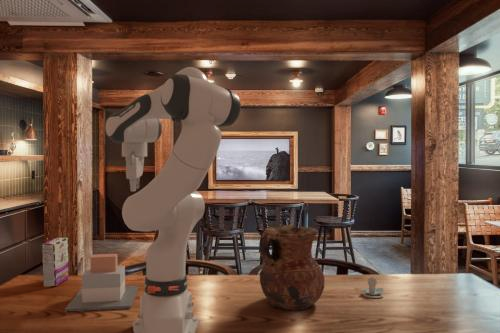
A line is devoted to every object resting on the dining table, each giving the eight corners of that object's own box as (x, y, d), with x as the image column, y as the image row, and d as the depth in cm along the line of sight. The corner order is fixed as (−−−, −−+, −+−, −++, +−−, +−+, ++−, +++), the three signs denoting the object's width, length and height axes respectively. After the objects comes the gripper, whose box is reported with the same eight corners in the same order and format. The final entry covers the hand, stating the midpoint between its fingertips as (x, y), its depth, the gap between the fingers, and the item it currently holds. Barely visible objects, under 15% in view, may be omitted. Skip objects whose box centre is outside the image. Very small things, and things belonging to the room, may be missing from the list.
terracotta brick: (115, 271, 137) (115, 256, 137) (90, 272, 136) (90, 257, 135) (117, 268, 141) (117, 253, 140) (93, 268, 139) (93, 254, 139)
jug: (278, 288, 149) (278, 220, 149) (333, 298, 139) (334, 225, 138) (247, 308, 130) (247, 230, 130) (308, 322, 120) (308, 237, 119)
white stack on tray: (130, 308, 130) (130, 277, 130) (64, 312, 127) (64, 280, 127) (138, 288, 150) (138, 261, 149) (81, 290, 147) (81, 263, 147)
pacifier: (385, 299, 139) (381, 293, 145) (386, 281, 138) (381, 275, 144) (364, 299, 139) (360, 292, 145) (364, 281, 139) (360, 275, 145)
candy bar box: (57, 278, 162) (56, 237, 161) (69, 278, 162) (68, 237, 161) (42, 287, 150) (41, 243, 150) (55, 287, 150) (54, 243, 150)
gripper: (140, 152, 138) (140, 192, 138) (146, 151, 158) (146, 187, 158) (121, 151, 137) (121, 193, 137) (129, 151, 157) (129, 187, 157)
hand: (134, 190), depth 148 cm, fingers open, 8 cm apart
